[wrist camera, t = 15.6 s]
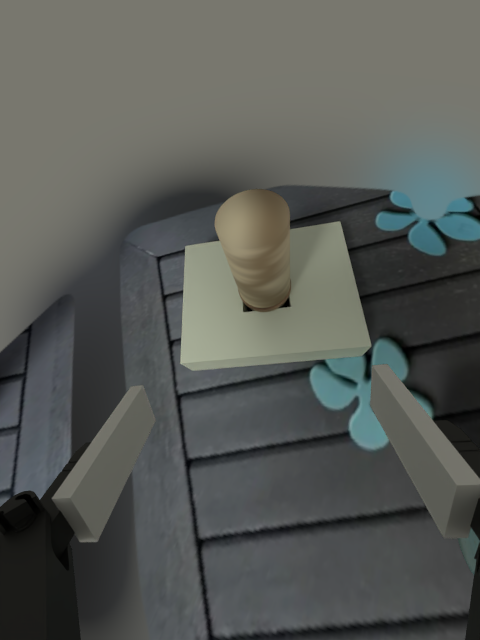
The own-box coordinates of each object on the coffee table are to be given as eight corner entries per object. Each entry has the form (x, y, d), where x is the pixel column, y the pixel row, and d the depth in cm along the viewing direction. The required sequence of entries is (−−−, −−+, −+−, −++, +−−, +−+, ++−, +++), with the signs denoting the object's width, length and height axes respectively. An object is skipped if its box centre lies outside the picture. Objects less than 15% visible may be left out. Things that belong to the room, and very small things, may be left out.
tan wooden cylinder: (245, 326, 33) (213, 255, 19) (243, 285, 35) (213, 195, 22) (293, 321, 32) (296, 242, 19) (288, 279, 35) (286, 182, 21)
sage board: (192, 370, 33) (180, 363, 29) (195, 263, 39) (185, 246, 35) (361, 356, 30) (371, 346, 26) (335, 242, 36) (340, 221, 32)
